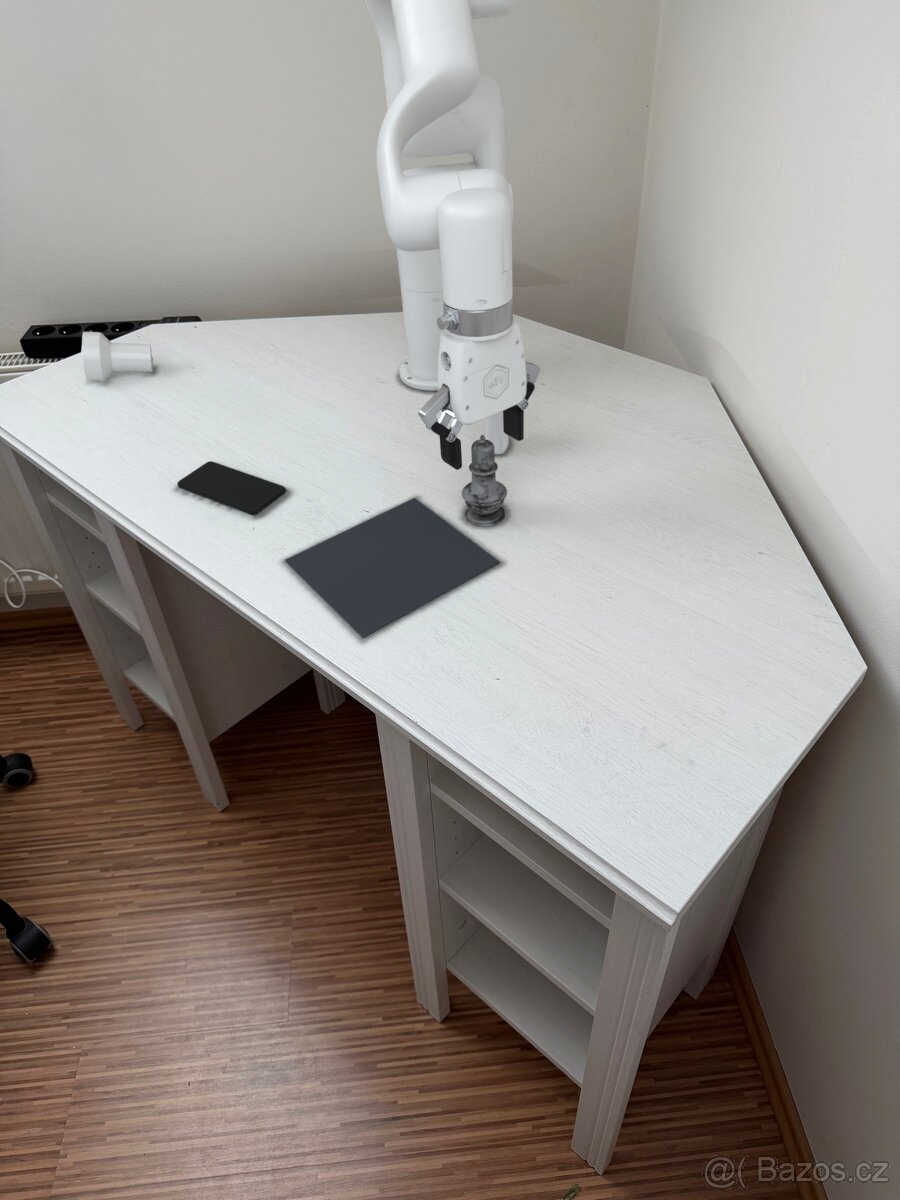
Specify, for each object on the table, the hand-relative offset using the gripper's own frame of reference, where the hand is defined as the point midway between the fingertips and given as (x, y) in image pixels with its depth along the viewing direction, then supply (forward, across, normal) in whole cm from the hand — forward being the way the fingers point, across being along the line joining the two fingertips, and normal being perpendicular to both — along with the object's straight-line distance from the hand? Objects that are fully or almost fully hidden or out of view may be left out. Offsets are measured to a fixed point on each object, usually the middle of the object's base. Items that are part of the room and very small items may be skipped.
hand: (483, 450), depth 102 cm
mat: (+10, -15, 0) cm, 18 cm away
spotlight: (+9, -22, +74) cm, 78 cm away
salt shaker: (+10, 0, 0) cm, 10 cm away
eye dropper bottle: (+10, +12, +12) cm, 20 cm away
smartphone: (+10, -23, +28) cm, 38 cm away
